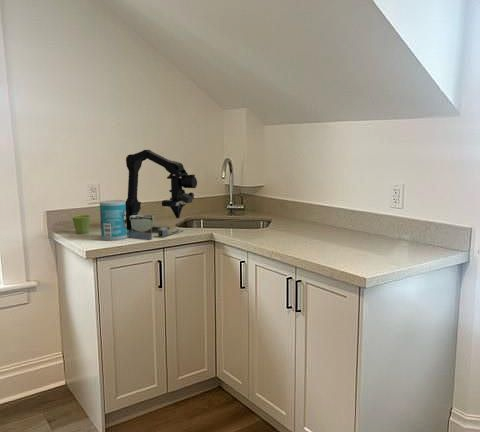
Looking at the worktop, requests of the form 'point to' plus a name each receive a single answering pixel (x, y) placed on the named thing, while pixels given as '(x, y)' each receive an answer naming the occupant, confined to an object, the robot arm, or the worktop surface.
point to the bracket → (143, 235)
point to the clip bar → (169, 231)
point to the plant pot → (81, 223)
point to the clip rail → (166, 232)
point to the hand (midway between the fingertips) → (177, 218)
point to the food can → (113, 220)
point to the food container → (142, 223)
